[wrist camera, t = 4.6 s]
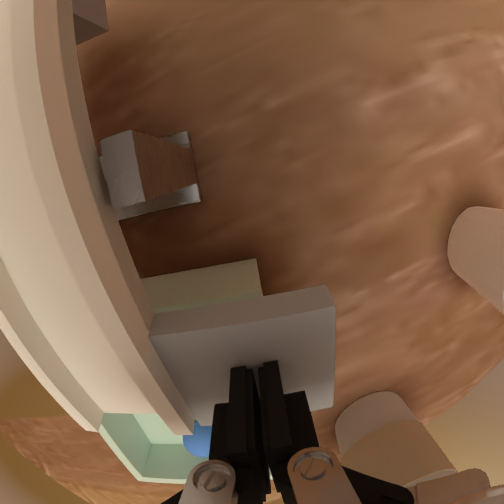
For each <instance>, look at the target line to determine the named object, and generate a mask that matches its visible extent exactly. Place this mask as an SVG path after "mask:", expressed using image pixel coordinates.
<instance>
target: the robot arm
mask: <svg viewBox="0 0 504 504" xmlns="http://www.w3.org/2000/svg"><path fill="white" fill-rule="evenodd" d="M258 377H259V392H260V398H259V394H258V390H257V386H256V382H255V378H254V374H253V370H252V369H247V368H246V366H240V367H233V368H231V369H230V385H229V402H228V403H219V404H215V406H214V412H213V421H212V431H211V440H210V450H209V460H208V461H204V462H201V463H200V464H198V465H196V466H195V467H194V468H193V469H192V470H191V471H190V473H189V475H188V477H187V480H186V483H185V486H184V489H183V490H181V491H180V492H178V493H177V494H175V495H174V496H172V497H171V498H169V499H168V500H166V501H165V502H163V503H161V504H263V502H266V494H271V484H270V472H269V468H270V471H271V474H272V478H273V481H274V484H275V487H276V490H277V493H278V492H281V495H282V498H283V501H284V503H285V504H504V485H498V486H494V487H491V486H490V482H489V478H488V476H487V474H486V473H485V472H483V471H482V470H481V469H476V468H473V469H468V470H465V471H461V472H459V473H455V474H451V475H448V476H444V477H441V478H437V479H433V480H429V481H424V482H420V483H416V485H415V486H411V487H406V488H405V487H403V486H400V485H397V484H393V483H390V482H387V481H384V480H381V479H378V478H375V477H372V476H369V475H366V474H363V473H360V472H357V471H355V470H352V469H349V468H347V467H344V466H342V465H341V464H340V462H339V460H338V458H337V457H336V455H335V454H334V453H333V452H332V451H330V450H328V449H326V448H322V447H319V444H318V440H317V436H316V432H315V428H314V424H313V420H312V416H311V412H310V408H309V404H308V401H307V397H306V393H305V390H303V391H298V392H293V393H288V394H284V392H283V387H282V381H281V376H280V370H279V365H278V360H277V361H271V362H265V363H263V367H259V368H258Z"/></svg>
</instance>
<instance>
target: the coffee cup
mask: <svg viewBox="0 0 504 504" xmlns="http://www.w3.org/2000/svg"><path fill="white" fill-rule="evenodd" d="M335 433H336V438H337V443H338V448H339V453H340V459H341V462H340V464H341V465H342V466H344V467H347V468H349V469H352V470H355V471H357V472H360V473H363V474H366V475H369V476H372V477H375V478H378V479H381V480H384V481H387V482H390V483H393V484H397V485H400V486H403V487H405V488H406V487H411V486H415V485H416V483H420V482H424V481H429V480H433V479H437V478H441V477H444V476H448V475H451V474H455V473H457V470H456V469H455V468H454V466H453V465H452V463H451V462H450V461H449V459H448V458H447V456H446V455H445V454H444V452H443V451H442V450H441V448H440V447H439V446H438V444H437V443H436V442H435V440H434V439H433V438H432V436H431V435H430V434H429V433H428V431H427V430H426V428H425V427H424V426H423V424H422V423H420V422H419V421H418V420H417V419H416V417H415V416H414V414H413V413H412V412H411V410H410V409H409V408H408V406H407V405H406V404H405V402H404V401H403V400H402V398H401V397H400V396H399V395H398V394H396V393H394V392H390V391H381V392H376V393H372V394H369V395H366V396H364V397H362V398H360V399H358V400H357V401H355V402H353V403H352V404H351V405H349V406H348V407H347V408H346V409H345V410H344V411H343V412H342V413H341V414H340V416H339V417H338V419H337V421H336V423H335Z"/></svg>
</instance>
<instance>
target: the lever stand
mask: <svg viewBox="0 0 504 504" xmlns="http://www.w3.org/2000/svg"><path fill="white" fill-rule="evenodd" d="M100 146H101V152H102V156H100V157H99V160H100V163H101V167H102V171H103V174H104V177H105V181H106V184H107V187H108V191H109V194H110V199H111V203H112V207H113V210H114V209H115V212H116V215H117V218H118V220H122V219H126V218H130V217H134V216H138V215H142V214H146V213H150V212H155V211H159V210H163V209H168V208H172V207H177V206H181V205H186V204H190V203H195V202H200V201H201V200H202V196H201V191H200V186H199V181H198V176H197V171H196V166H195V161H194V156H193V151H192V145H191V140H190V135H189V132H187V131H185V132H181V133H177V134H173V135H169V136H165V137H162V138H158V137H154V136H151V135H148V134H145V133H142V132H139V131H135V130H132V129H131V130H128V131H124V132H121V133H118V134H116V135H113V136H110V137H107V138H104V139H101V140H100Z"/></svg>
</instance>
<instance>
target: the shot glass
mask: <svg viewBox="0 0 504 504" xmlns="http://www.w3.org/2000/svg"><path fill="white" fill-rule="evenodd" d="M447 257H448V260H449V263H450V267H451V269H452V270H453V271H454V272H455V273H456V274H457V275H458V276H459V277H460V278H462V279H463V280H464V281H465V282H466V283H468V284H469V285H470V286H471V287H472V288H474V289H475V290H476V291H477V292H478V293H479V294H481V295H482V296H483V297H484V298H485V299H486V300H488V301H489V302H490V303H491V304H492V305H493V306H494V307H495V308H496V309H498V310H499V311H500V312H501V313H502V314H503V315H504V209H497V208H489V207H480V206H475V207H470V208H467V209H466V210H465V211H463V212H462V213H461V214H460V215H459V216H458V217H457V219H456V221H455V222H454V224H453V226H452V228H451V231H450V235H449V239H448V248H447Z"/></svg>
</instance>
